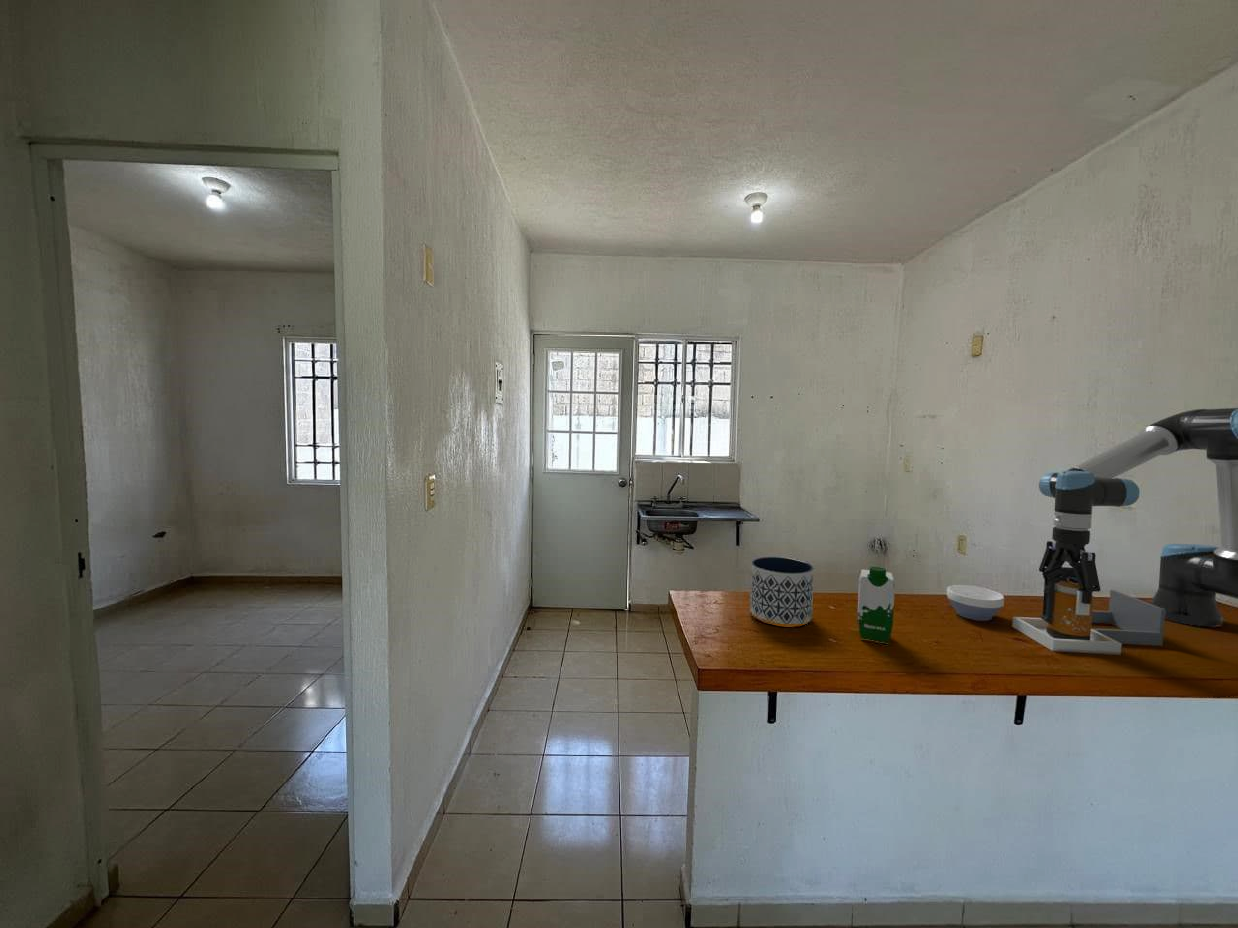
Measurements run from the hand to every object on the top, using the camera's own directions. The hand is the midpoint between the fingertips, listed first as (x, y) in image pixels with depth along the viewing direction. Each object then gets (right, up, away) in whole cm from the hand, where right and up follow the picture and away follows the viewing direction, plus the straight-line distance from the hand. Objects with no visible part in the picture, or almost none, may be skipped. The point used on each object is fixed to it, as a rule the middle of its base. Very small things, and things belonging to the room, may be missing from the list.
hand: (1065, 606), depth 136 cm
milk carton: (-52, -9, +2) cm, 53 cm away
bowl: (-13, -8, +18) cm, 23 cm away
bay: (+17, -9, +6) cm, 20 cm away
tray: (0, -9, +1) cm, 9 cm away
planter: (-73, -8, +16) cm, 75 cm away
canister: (0, -9, +1) cm, 9 cm away
